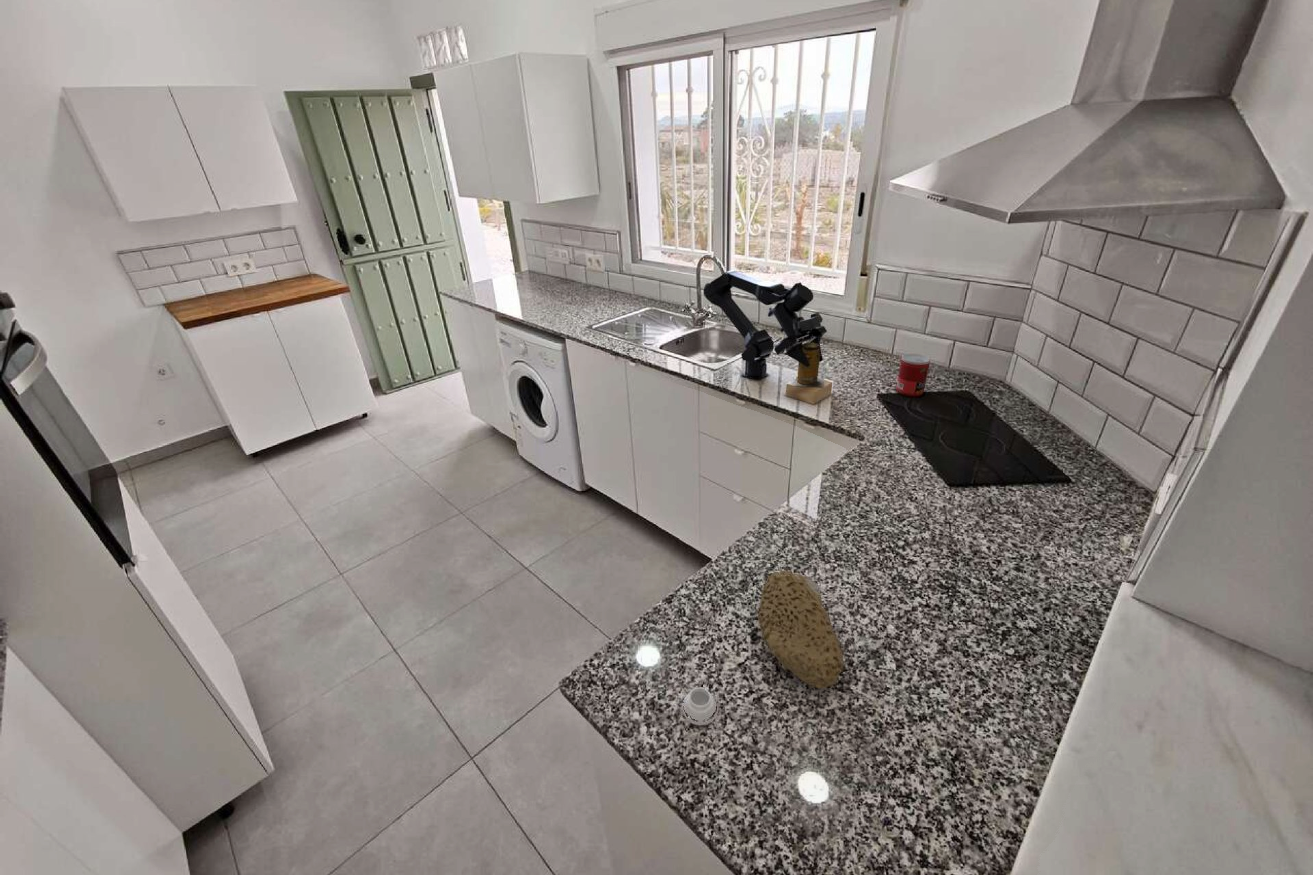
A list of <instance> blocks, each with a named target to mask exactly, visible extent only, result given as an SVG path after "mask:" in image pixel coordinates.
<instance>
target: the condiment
mask: <svg viewBox="0 0 1313 875" xmlns="http://www.w3.org/2000/svg"><path fill="white" fill-rule="evenodd" d="M819 348H821V345H820V346H819V345H818V344H816V343H806V342H803V343H802V350H803V352H804V354H805V356H806V358H807V359H808V361H809V364H810V366H809V367H806V366H804V365H803V364H801V363H800V362H798V365H797V366H798V367H797V376H796V377H795V379H796V386H814V387H824V380H825V378H824V377H819V370H820V362H819V361H820V354H819Z"/></svg>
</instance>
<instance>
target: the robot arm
mask: <svg viewBox="0 0 1313 875" xmlns="http://www.w3.org/2000/svg"><path fill="white" fill-rule="evenodd" d="M733 288H736V289H738V290H741V291H744V292H746V293H747V294H751V295H753V296H754V297H755V298H756V300H757V301H758V302H760V303H761V304H763V305H765V306H770V307H769V308H768V312H767V317H768V318H770V317H773V316H774V317H775V319H776V320H777V323H778V324H779V325H780V327H781V328H780V329H779V331H780V333H785V335H786V337H784V338H782V339H781V340H780V341H779V342H778V343H776V344H775V343H774V340H773V337H772V336H771V335H770V334H769V333H768V331H767V329H765V328H763V329H760V330H759V329H758V328H756V327H755V325H754V324H753V323H752V322H751V321H750V319H749V318H748V317H747V315H746V314H745V312H744V311H743V310H742V309H741V307H739V305H738V303H736V301H735V300H734V298H733V297H732V289H733ZM703 296H704V297H705V299H706V300H707V301H709V302H710V303H711V304H712V305H714V306H717V307H718V308H720V310H721V311H722V312H723V314H725V315H726V317H727V318H728V320H729V321H730V322H731V323H732V325H733V326H734V327H735V328H736V330H737V331H738V332H739V334H740V336H742V337H743V339H744V347H745V350H743V351H742V352H741V354H740V356H741V360H742V361H744V362H745V366H744V372H743V373H742V374H741V376H742V377H745V378H748V379H751V380H755V381H759V380H761V379H763V378H765V377H767V376H768V375H769V373H768V372H767V370H768V365H767V358H770V356H771V354H772V352H775V354H776V355H777V356H780V355H784V356H788V357H789V358H791V359H792V360H795V361H796V362H798V363H799V362H800V363H801V364H803V365H804V366H806V367H809V366H810V364H809V361H808V359H807V358H806V356H805V354H804V352H803V350H802V344H803V343H816V344H818V345H819V346H820V348H819V354H820V361H819V363H821V362H822V361H824V358H823V353H822V348H821V339H822V338H823V337H824V335H825V334H827V333H828V330H827V329H826V327H825V326H824V325H822V324H821V323H822V322H823V320H824V319H823V317H822V316H821V314H820V313H819V312H815V313H812V314H810V317H809V318H806V319H805V317H803V316H798V314H797V313H799V312H801V311H802V310H803V309H804V308H805V307H806V306H807V305H809V304H810V303H811V302H812V301H813V300H814V293H813V290H811V289H810V288H808V286H807V285H803V284H802V282H800V281H799V282H796V283H794V284H793V286H792V287H791V288H787V287H785V285H784V284H782V283H780V282H773V281H761V280H759V279H756V278H754V277H751V276H748V275H745V274H743V273H741V272H738V271H737V270H735V269H733V270H728V271H725V272H723V273H722V274H721V275H719V276H718V277H717V278H715V279H713V280H712V281H710V282H707V283H706V284H705V285H704V287H703ZM774 304H775V305H774ZM771 305H774V306H771Z"/></svg>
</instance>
